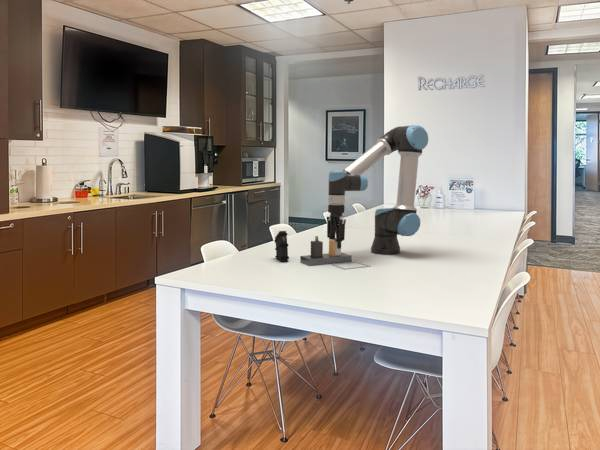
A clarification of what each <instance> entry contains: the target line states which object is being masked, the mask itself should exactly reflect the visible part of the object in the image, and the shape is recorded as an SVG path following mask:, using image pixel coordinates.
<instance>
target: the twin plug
mask: <svg viewBox="0 0 600 450" xmlns="http://www.w3.org/2000/svg"><path fill="white" fill-rule="evenodd" d="M323 247H324V242H323V241H321V240H319V236H318V235H315V236H314V240H310V255H311V257H313V258H320V257H323V254H324V253H323V251H324V248H323Z"/></svg>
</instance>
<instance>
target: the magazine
mask: <svg viewBox="0 0 600 450" xmlns="http://www.w3.org/2000/svg"><path fill="white" fill-rule="evenodd" d="M287 236H288V233H287V230H280V231H278V233H277V234H276V236H274V242H273V243H275V248H274V250H275V253H276V254H275V259H276V260H277V261H279V262H280V263H289V259H290V256H289V252H288V251H289V250H288V249H289V248H288V247H289V243H288V237H287Z"/></svg>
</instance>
